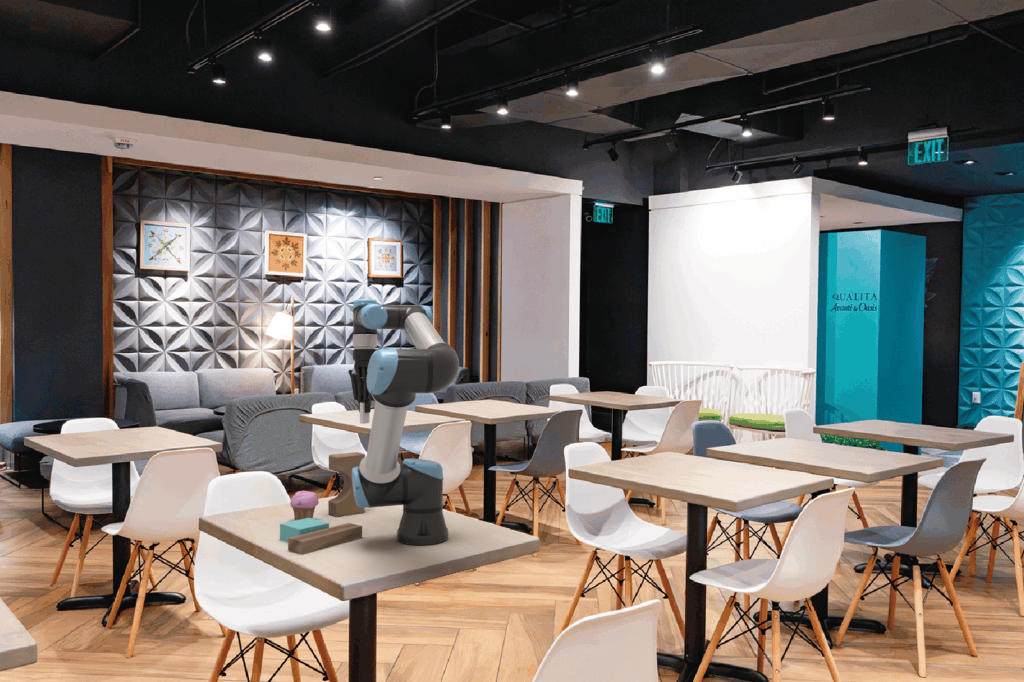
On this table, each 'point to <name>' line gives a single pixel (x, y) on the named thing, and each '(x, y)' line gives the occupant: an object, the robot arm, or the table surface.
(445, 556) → the table surface
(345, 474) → the decorative block
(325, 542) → the walnut board
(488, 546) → the table surface
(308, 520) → the teal block
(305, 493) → the cupcake
